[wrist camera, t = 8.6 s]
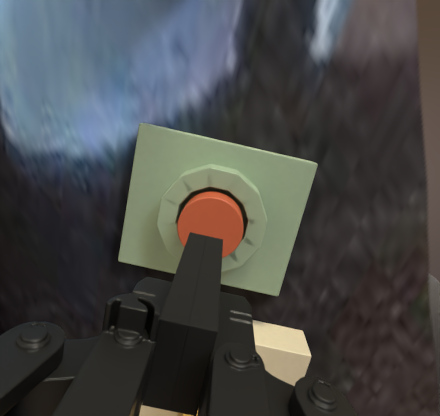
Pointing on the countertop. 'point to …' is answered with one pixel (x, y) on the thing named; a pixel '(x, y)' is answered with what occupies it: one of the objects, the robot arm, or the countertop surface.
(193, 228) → the bell button
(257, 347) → the plate
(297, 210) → the green push button box
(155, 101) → the countertop surface
